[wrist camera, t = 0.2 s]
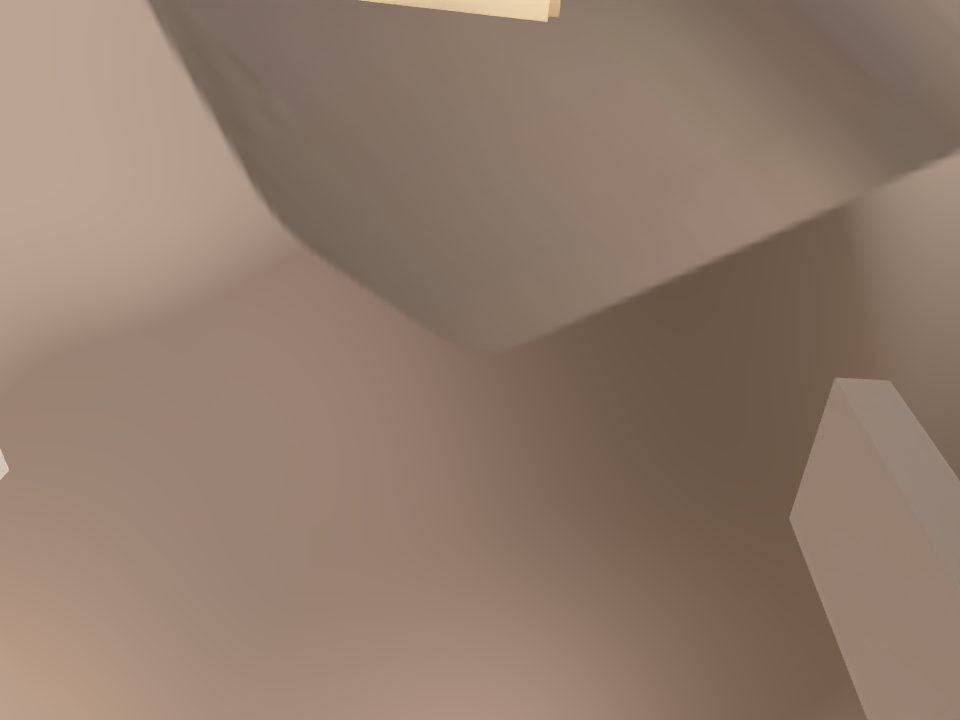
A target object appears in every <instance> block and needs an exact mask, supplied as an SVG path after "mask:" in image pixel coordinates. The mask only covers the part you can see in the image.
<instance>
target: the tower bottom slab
mask: <svg viewBox="0 0 960 720" xmlns="http://www.w3.org/2000/svg"><path fill="white" fill-rule="evenodd" d="M560 2H561V0H550V4H549V12H548V16H551V17H559V11H560Z"/></svg>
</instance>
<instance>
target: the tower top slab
mask: <svg viewBox="0 0 960 720" xmlns="http://www.w3.org/2000/svg"><path fill="white" fill-rule="evenodd" d="M362 1H371V2H380V3H388V4H397V5H406V6H414V7H423V8H432V9H440V10H449V11H458V12H466V13H475V14H484V15H492V16H501V17H510V18H519V19H527V20H536V21H545V22H547V19H548V12H549V4H550V0H362Z"/></svg>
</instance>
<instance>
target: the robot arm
mask: <svg viewBox="0 0 960 720" xmlns="http://www.w3.org/2000/svg"><path fill="white" fill-rule="evenodd" d="M8 471H9V469H8V467H7V464H6V462H5V459H4V457H3V454H2V452H1V449H0V480H1V479H2V478H3V476H4V475H5V474H6V473H7V472H8ZM789 519H790V521H791V524H792V527H793V529H794V532H795V535H796V537H797V540H798V542H799V545H800V547H801V550H802V553H803V555H804V558H805V560H806V563H807V565H808V568H809V570H810V573H811V576H812V578H813V581H814V583H815V586H816V588H817V591H818V594H819V596H820V598H821V601H822V604H823V606H824V609H825V612H826V614H827V617H828V619H829V622H830V624H831V627H832V629H833V632H834V635H835V637H836V640H837V642H838V645H839V647H840V650H841V653H842V655H843V658H844V660H845V663H846V665H847V668H848V670H849V673H850V676H851V678H852V681H853V683H854V686H855V689H856V691H857V694H858V696H859V699H860V701H861V704H862V707H863V709H864V712H865V714H866V717H867V720H960V481H959V480H958V478H957V477H956V475H955V474H954V472H953V471H952V469H951V468H950V466H949V465H948V464H947V462H946V461H945V460H944V458H943V456H942V455H941V454H940V452H939V451H938V449H937V448H936V446H935V445H934V444H933V442H932V441H931V439H930V438H929V437H928V435H927V433H926V432H925V431H924V429H923V428H922V426H921V425H920V423H919V422H918V421H917V419H916V418H915V416H914V415H913V414H912V412H911V411H910V409H909V408H908V406H907V405H906V403H905V402H904V400H903V399H902V398H901V396H900V395H899V394H898V392H897V391H896V389H895V388H894V386H893V385H892V383H891V382H890V381H884V380H866V379H846V378H835V380H834V383H833V386H832V389H831V392H830V395H829V398H828V401H827V404H826V408H825V411H824V414H823V417H822V420H821V423H820V426H819V429H818V432H817V435H816V438H815V441H814V444H813V448H812V450H811V453H810V456H809V460H808V463H807V466H806V469H805V472H804V475H803V478H802V481H801V484H800V487H799V490H798V494H797V497H796V499H795V503H794V505H793V509H792V512H791V515H790V518H789Z"/></svg>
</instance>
